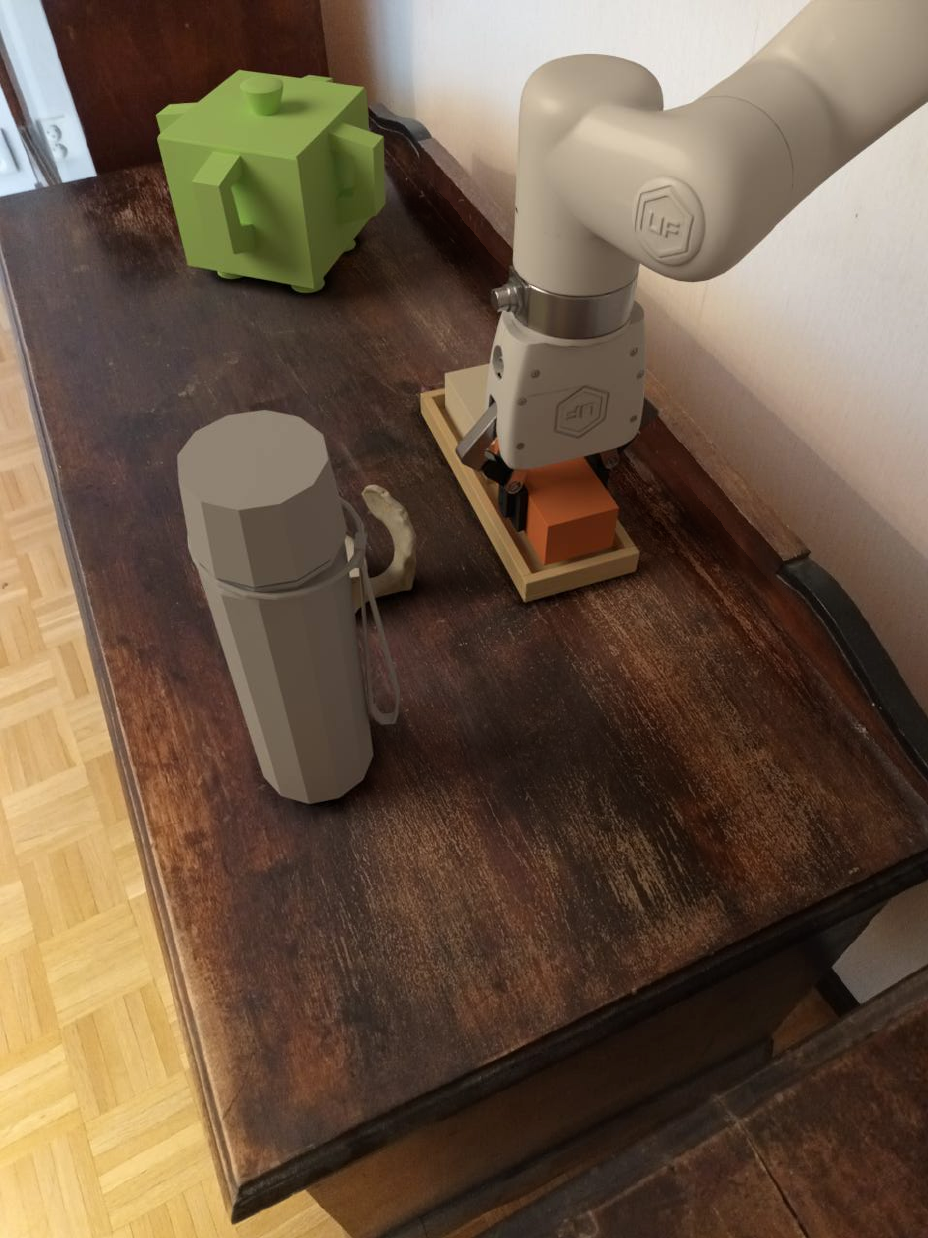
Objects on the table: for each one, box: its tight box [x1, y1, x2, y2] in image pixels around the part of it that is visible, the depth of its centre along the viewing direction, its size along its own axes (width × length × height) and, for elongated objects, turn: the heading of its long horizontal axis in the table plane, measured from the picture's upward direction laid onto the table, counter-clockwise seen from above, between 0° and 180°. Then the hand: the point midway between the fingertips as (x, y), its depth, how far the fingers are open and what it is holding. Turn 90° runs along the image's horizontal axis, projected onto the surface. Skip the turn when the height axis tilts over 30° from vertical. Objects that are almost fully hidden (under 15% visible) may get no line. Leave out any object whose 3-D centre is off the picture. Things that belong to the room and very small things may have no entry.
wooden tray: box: [419, 387, 640, 603], centre depth 74 cm, size 24×9×2 cm, turn 20°
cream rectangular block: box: [444, 363, 497, 484], centre depth 77 cm, size 10×6×4 cm, turn 20°
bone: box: [345, 484, 417, 614], centre depth 65 cm, size 9×6×10 cm
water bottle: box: [176, 409, 401, 805], centre depth 49 cm, size 9×8×25 cm
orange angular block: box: [495, 440, 620, 566], centre depth 69 cm, size 10×6×4 cm, turn 20°
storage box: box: [155, 69, 387, 294], centre depth 91 cm, size 25×23×17 cm
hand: (551, 507), depth 70 cm, fingers closed on orange angular block, 5 cm apart
